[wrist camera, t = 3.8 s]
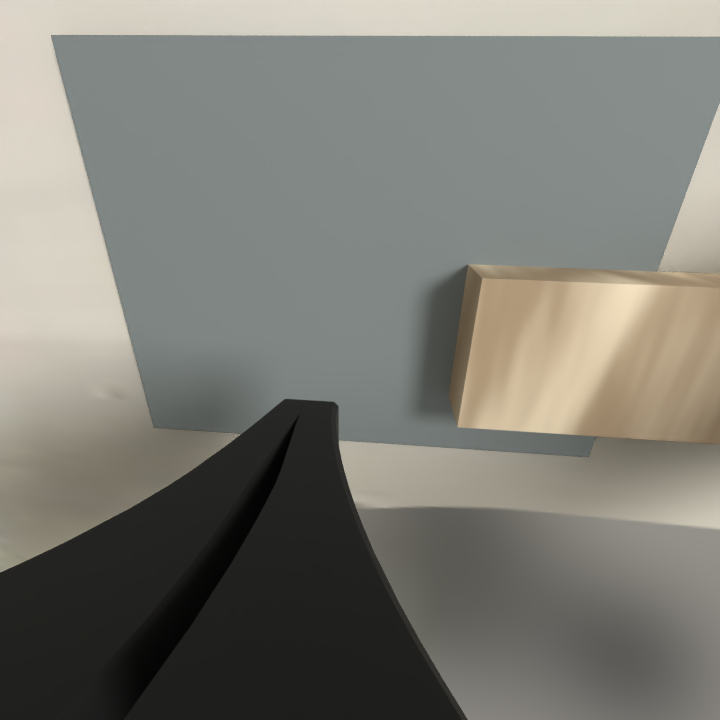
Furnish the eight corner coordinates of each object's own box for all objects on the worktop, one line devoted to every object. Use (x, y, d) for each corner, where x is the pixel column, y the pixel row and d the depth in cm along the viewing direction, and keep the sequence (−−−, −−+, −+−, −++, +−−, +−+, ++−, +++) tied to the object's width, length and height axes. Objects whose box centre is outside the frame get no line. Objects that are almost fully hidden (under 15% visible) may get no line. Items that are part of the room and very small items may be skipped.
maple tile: (468, 264, 14) (735, 274, 14) (448, 395, 17) (673, 408, 16) (482, 278, 12) (804, 291, 12) (457, 427, 15) (719, 444, 14)
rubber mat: (729, 43, 11) (743, 36, 11) (583, 450, 18) (588, 457, 18) (63, 40, 13) (50, 35, 12) (159, 422, 20) (154, 427, 19)
